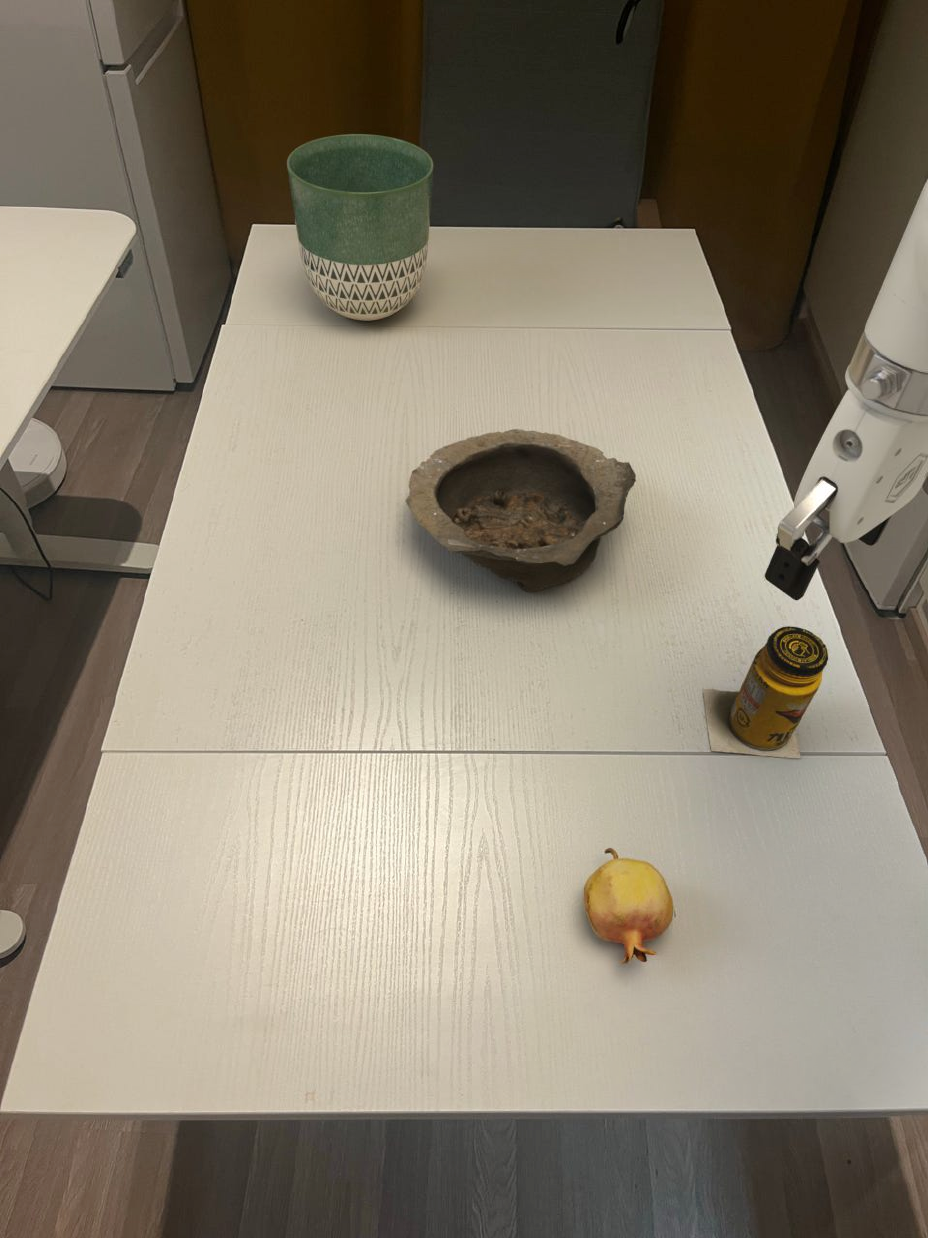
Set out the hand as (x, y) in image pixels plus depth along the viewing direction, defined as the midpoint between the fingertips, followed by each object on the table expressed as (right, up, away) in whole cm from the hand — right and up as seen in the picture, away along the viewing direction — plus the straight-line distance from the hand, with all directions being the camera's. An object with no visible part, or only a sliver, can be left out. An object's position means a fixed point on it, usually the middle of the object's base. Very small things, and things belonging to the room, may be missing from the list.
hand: (820, 560), depth 69 cm
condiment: (0, -15, +17) cm, 23 cm away
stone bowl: (-22, +5, +34) cm, 41 cm away
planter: (-43, +42, +66) cm, 89 cm away
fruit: (-15, -29, +4) cm, 33 cm away
